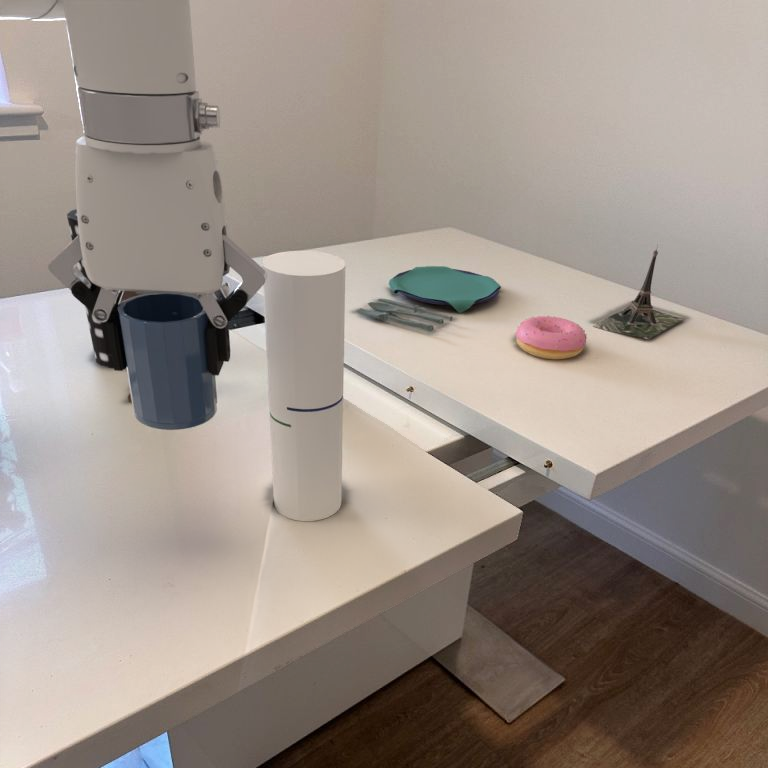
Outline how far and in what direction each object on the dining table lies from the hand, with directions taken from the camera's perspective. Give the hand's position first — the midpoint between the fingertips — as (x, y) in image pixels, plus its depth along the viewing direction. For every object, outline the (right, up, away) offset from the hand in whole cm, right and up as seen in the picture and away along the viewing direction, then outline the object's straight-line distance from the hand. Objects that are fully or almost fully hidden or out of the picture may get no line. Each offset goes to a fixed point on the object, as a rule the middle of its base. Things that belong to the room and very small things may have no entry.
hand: (170, 364), depth 58 cm
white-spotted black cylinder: (-19, +9, +44) cm, 49 cm away
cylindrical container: (+9, -11, +18) cm, 23 cm away
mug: (0, -2, +4) cm, 5 cm away
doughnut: (+43, +14, +55) cm, 72 cm away
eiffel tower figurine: (+62, +21, +66) cm, 93 cm away
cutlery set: (+26, +26, +71) cm, 80 cm away
